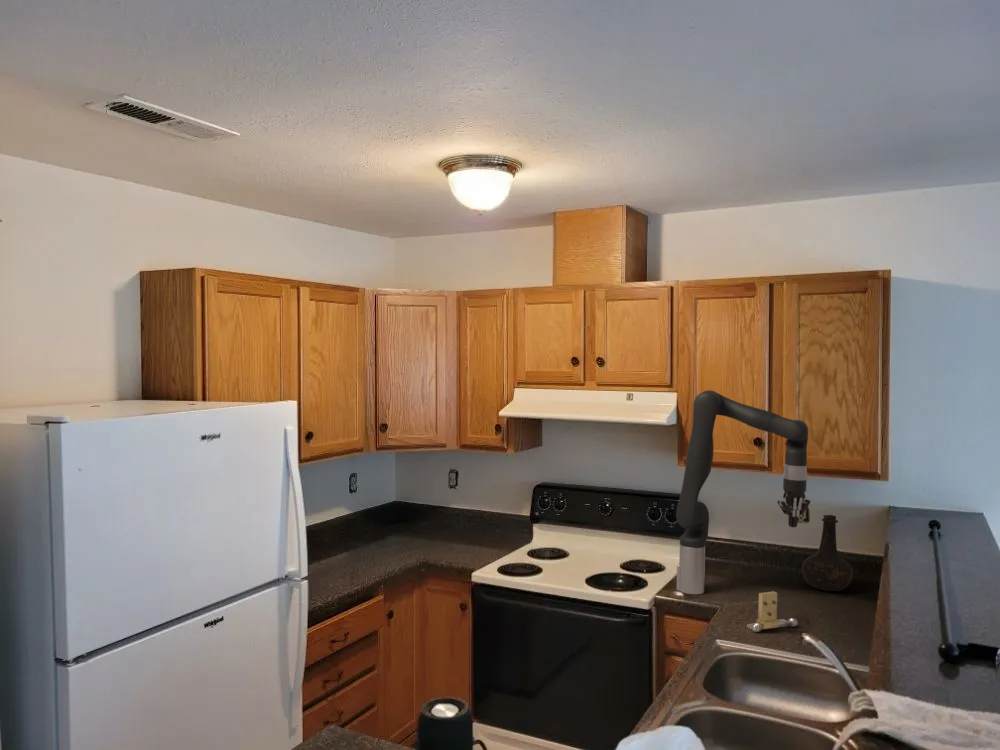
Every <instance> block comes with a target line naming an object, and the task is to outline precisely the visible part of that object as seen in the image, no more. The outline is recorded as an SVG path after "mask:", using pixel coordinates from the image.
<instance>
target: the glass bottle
mask: <svg viewBox="0 0 1000 750" xmlns="http://www.w3.org/2000/svg"><path fill="white" fill-rule="evenodd" d="M821 521H822V522H823V524H822V532H821V539H820V543H819V544H820V545H819V548H818V550H817V552H816V553H815V554H812V555H809V556H808V557H807V558H805V559H804V561H803V562H802V564H801V575H802V577H803V579H804V581H805V582H806V583H807V584H808V585H810V587H812V588H814V589H816V590H819V589H820V591H823V590H824V592H830V591H837V592H841V591H843V590H844V589H846V588H847V587H848V586H849V585H850V584H851V582H852V580H853V578H854V577H853V576H854V571H853V568H852V566H851V565H850V563H849V562H848V561H847V560H845V559H843V558H842V557H840V556H839V553H838V548H837V529H836V527H837V525H836V524H838V523H839V521H838V520H837V516H836V515H833V514H824V515H823V518H822V519H821Z"/></svg>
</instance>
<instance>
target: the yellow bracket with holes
mask: <svg viewBox="0 0 1000 750" xmlns="http://www.w3.org/2000/svg"><path fill="white" fill-rule="evenodd" d="M777 613H778V592H776V591H775V590H772V591H767V592H766V591H765V592H759V593H758V616H757V619H755V623H759V624H760V625H762V628H763V629H765V630H768V629H767V628H772V629H775V628H774V627H778V628H780V627H779V621H777V620H778V614H777Z"/></svg>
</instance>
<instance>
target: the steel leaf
mask: <svg viewBox="0 0 1000 750" xmlns="http://www.w3.org/2000/svg"><path fill="white" fill-rule="evenodd" d="M777 621H779V627H774V628H767V629H763V628H762V625H760V624H759V623H756V622H754V623H753V622H752V623H747V624H746V628H747V627H748V628H747V629H749V628H750V629H749V630H751V629H752V630H751V631H753V632H754V633H758V632H762V631H764V630H771V629H776V628H784V627H790V628H792V627H797V625H798V624H799V623H798V620H797V619H796V618H795V617H791V618H790V617H789V618H787V620H786V619H784V618H781V619H777Z"/></svg>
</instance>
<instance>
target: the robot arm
mask: <svg viewBox="0 0 1000 750" xmlns="http://www.w3.org/2000/svg"><path fill="white" fill-rule="evenodd" d="M717 416H722V417H725V418H730V419H733V420H736V421H738V422H740V423H743V424H745V425H747V426H749V427H751V428H754V429H757V430H760V431H764V432H766V433H770V434H775V435H777V436H778V437H782V438H784V439H786V450H785V456H784V468H783V481H782V483H783V484H782V489H783V491H784V492H783V495H782V498H781V499H780V500H779V499H778V500H777V503H776V504H778V506H779V507H780V508H779V509H781V511H782V512H783V514H784V515H787V516H788V519H787V520H788V522H787V524H788V526H789V528H797V527H798V523H799V520H798V519H799V516H800V515H802V516H803V514H804V513H805V512H806V510H807V508H808V507H809V505H810V504H811V500H810V499H807V498H806V494H805V493H806V491H807V480H808V479H807V477H808V469H807V468H808V467H807V464H808V463H807V461H808V453H807V452H808V451H807V450H808V449H807V447H808V441H809V427H808V425H807V424H806V422H804V421H803V420H800V419H790V418H788V417H787V418H786V417H783V416H781V415H779V414H777V413H775V412H771V411H767V410H765V409H762V408H759V407H755V406H751V405H747V404H744V403H741V402H738V401H736V400H733V399H730V398H728V397H726V396H724V395H722V394H720V393H718V392H716V391H714V390H709V389H707V390H704V391H701V392H700V393H698V394H697V395H696V397H695V398H694V400H693V416H692V417H693V418H692V429H691V434H690V438H689V444H688V447H687V448H688V449H687V453H686V460H685V466H684V467H685V469H684V475H683V481H682V487H681V491H680V493H679V494H680V496H679V498H678V502H677V506H676V511H675V513H676V514H675V515H676V517H675V518H676V521H677V523H678V525H679V526H680V527H681V528H684V529H686V530H685V532H684V533H683V534H682V535H680V537H679V563H678V564H677V566H676V591H679V592H681V593H682V594H687V595H702V594H704V593H705V579H706V578H705V574H706V573H705V572H706V570H705V569H706V568H705V567H706V565H705V564H706V542H707V540H708V537H709V526H710V525H709V524H710V512H709V510H708V507H707V505H706V504H705V503H704V502H703V501H699V500H698V499H699V495H700V492H701V490H702V488H703V486H704V484H705V483H706V481H707V479H708V477H710V476H709V475H710V473H711V470H712V466H713V460H714V434H713V433H714V428H715V423H716V418H717Z"/></svg>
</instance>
